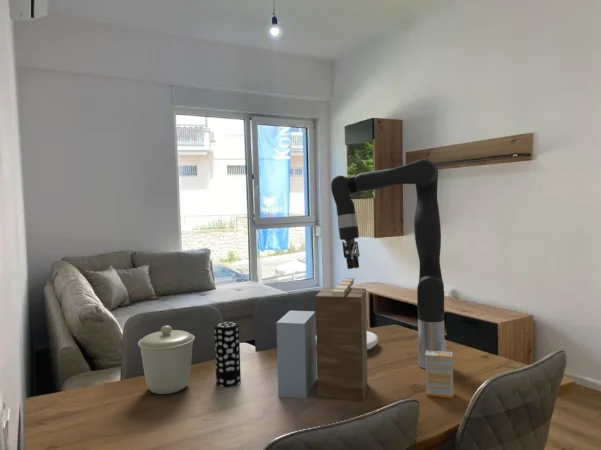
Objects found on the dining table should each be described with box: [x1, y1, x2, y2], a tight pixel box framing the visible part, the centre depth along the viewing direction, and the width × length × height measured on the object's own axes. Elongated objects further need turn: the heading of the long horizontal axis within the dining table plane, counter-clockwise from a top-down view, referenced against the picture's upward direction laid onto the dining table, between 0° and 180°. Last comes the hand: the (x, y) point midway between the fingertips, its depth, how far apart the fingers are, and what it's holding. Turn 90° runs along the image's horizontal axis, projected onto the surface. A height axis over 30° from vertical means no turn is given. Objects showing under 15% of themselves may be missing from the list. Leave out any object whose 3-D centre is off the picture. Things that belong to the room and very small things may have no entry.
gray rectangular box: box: [275, 310, 317, 399], centre depth 149 cm, size 16×9×24 cm, turn 166°
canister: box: [137, 325, 195, 395], centre depth 151 cm, size 18×18×21 cm
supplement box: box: [424, 350, 454, 399], centre depth 141 cm, size 8×5×13 cm, turn 71°
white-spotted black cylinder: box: [213, 320, 242, 388], centre depth 155 cm, size 8×8×20 cm
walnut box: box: [315, 287, 368, 403], centre depth 145 cm, size 14×14×32 cm
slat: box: [332, 277, 355, 297], centre depth 149 cm, size 24×4×2 cm, turn 166°
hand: (353, 268), depth 174 cm, fingers open, 8 cm apart
